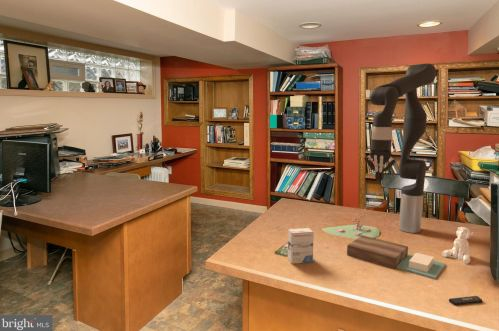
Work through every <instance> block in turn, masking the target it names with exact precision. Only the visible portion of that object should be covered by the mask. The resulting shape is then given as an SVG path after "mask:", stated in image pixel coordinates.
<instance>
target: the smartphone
mask: <svg viewBox="0 0 499 331" xmlns="http://www.w3.org/2000/svg"><path fill="white" fill-rule="evenodd" d="M274 254H275V255H279V256H282V257H286V258H288V241H287V242H286V243H285V244H283V245H282V246H281V247H279V248H278V249H277V250H275V251H274Z"/></svg>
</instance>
